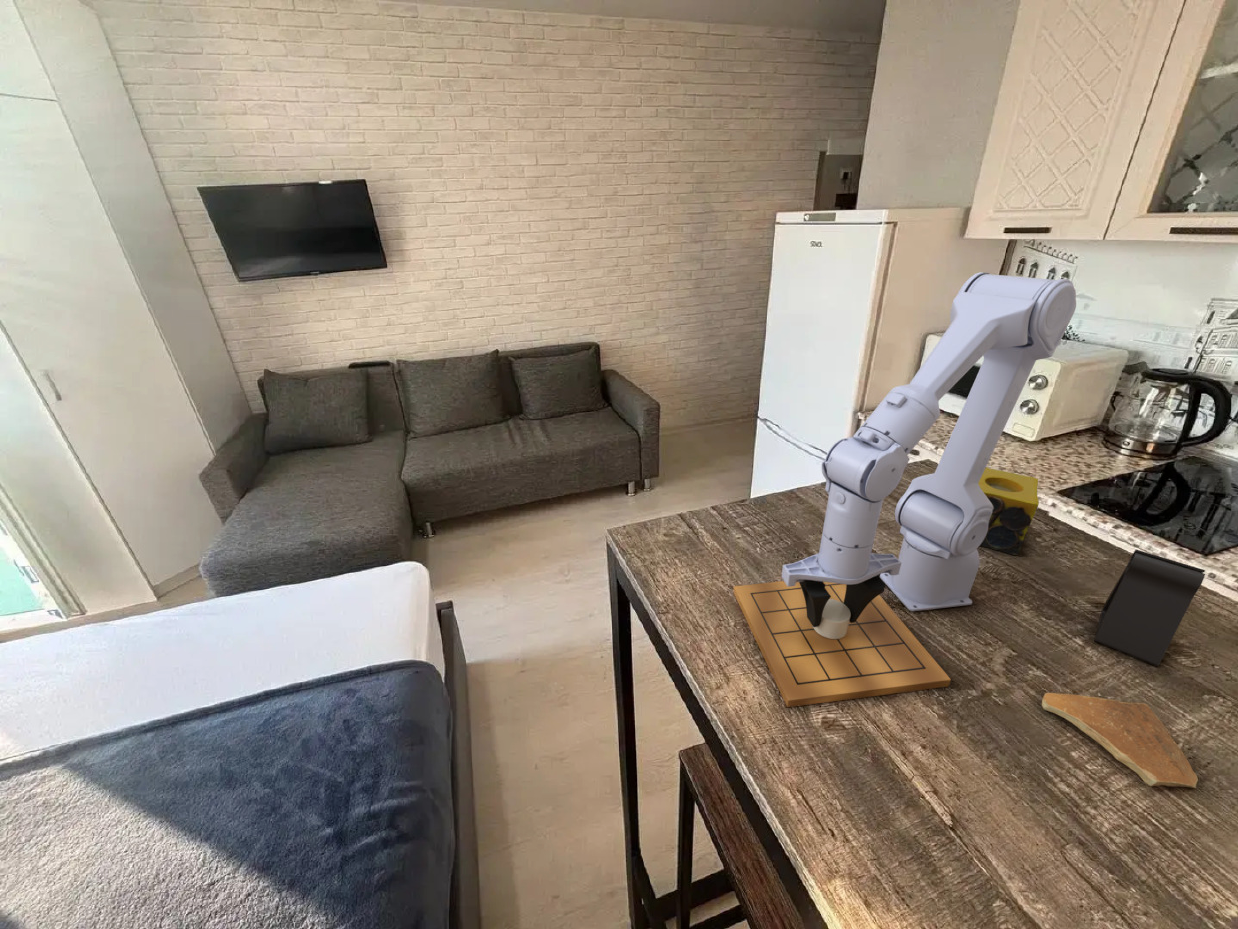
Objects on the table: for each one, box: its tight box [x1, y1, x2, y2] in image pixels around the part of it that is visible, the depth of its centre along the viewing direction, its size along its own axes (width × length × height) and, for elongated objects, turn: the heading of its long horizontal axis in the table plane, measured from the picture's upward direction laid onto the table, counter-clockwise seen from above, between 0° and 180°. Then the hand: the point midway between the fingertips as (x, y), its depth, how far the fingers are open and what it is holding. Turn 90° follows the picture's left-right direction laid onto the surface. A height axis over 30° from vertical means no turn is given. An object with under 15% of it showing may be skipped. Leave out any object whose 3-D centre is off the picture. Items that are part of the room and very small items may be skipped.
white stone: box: [813, 599, 851, 639], centre depth 67 cm, size 4×4×3 cm
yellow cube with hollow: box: [978, 467, 1040, 556], centre depth 86 cm, size 10×10×10 cm
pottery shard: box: [1041, 692, 1199, 789], centre depth 53 cm, size 10×9×2 cm
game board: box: [733, 580, 952, 708], centre depth 68 cm, size 20×20×1 cm
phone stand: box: [1093, 549, 1206, 667], centre depth 64 cm, size 9×6×12 cm, turn 134°
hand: (831, 619), depth 67 cm, fingers closed on white stone, 4 cm apart
